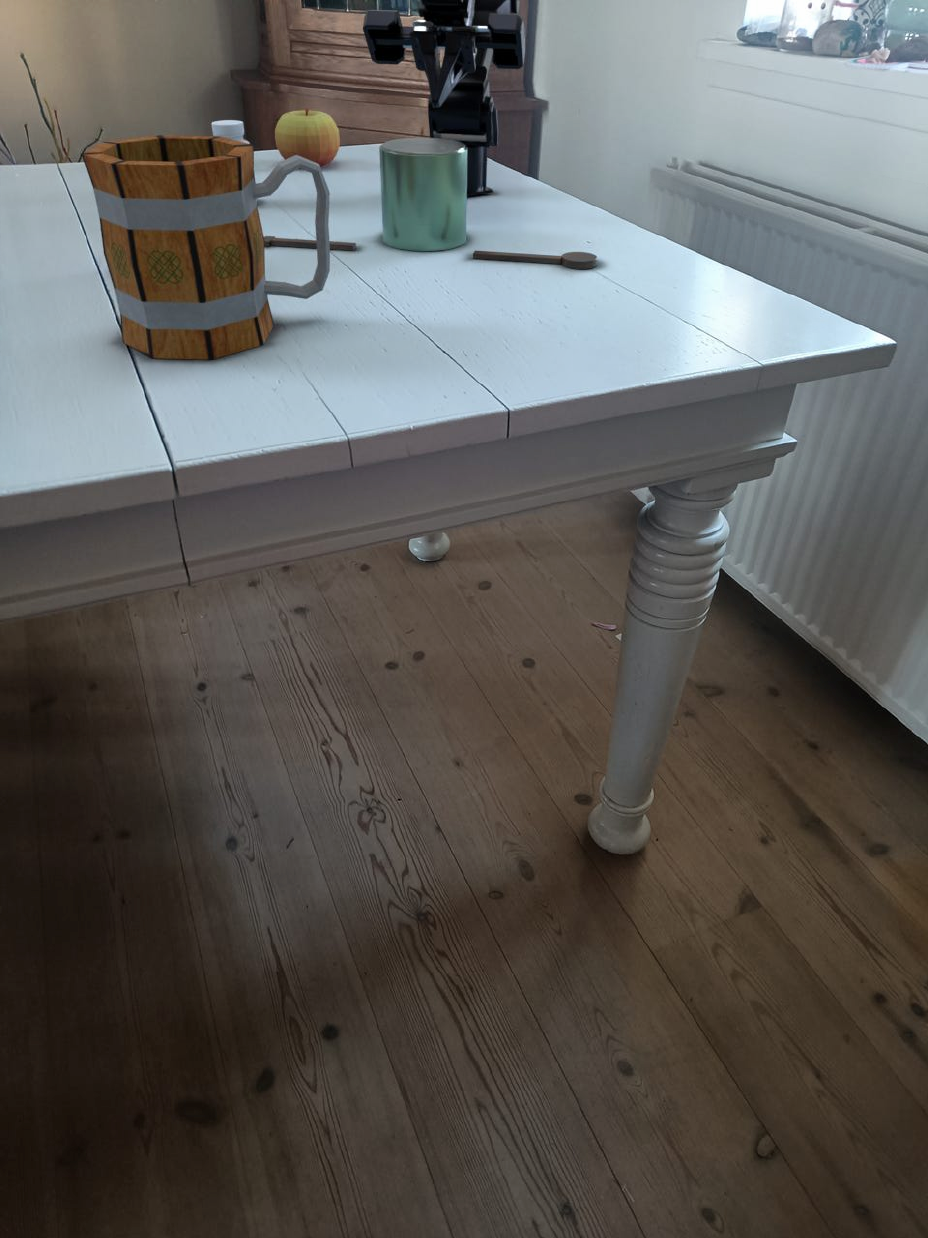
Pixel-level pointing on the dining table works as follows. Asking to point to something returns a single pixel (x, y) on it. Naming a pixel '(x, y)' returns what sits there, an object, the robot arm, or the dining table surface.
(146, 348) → the mug
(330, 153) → the apple
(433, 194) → the can
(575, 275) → the dining table surface
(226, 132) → the pill bottle
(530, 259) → the spoon
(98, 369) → the dining table surface
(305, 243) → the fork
